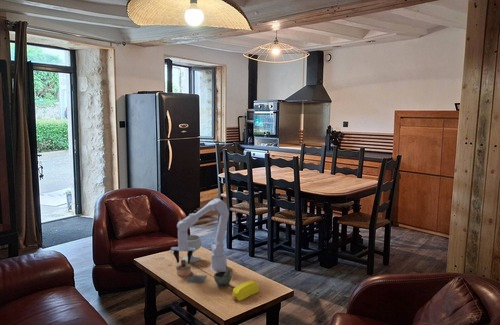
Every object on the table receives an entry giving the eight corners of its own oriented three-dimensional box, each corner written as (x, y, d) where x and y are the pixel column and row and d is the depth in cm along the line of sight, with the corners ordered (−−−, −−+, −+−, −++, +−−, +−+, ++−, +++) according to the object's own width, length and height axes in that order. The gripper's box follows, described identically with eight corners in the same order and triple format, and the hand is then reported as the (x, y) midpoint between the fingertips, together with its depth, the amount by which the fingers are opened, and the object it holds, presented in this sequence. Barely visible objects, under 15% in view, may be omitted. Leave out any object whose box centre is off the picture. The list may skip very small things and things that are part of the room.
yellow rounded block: (262, 292, 205) (252, 287, 211) (262, 280, 204) (252, 276, 210) (238, 304, 192) (228, 299, 198) (238, 291, 192) (228, 287, 197)
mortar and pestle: (210, 286, 212) (210, 266, 210) (222, 280, 219) (221, 261, 217) (225, 292, 205) (225, 271, 203) (237, 286, 212) (236, 265, 210)
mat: (207, 276, 225) (207, 275, 225) (203, 284, 215) (203, 283, 215) (190, 276, 226) (190, 275, 226) (186, 283, 216) (186, 282, 216)
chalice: (199, 263, 244) (199, 241, 242) (178, 263, 244) (177, 241, 242) (203, 255, 257) (202, 234, 256) (183, 255, 258) (182, 234, 256)
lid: (193, 266, 230) (193, 259, 229) (184, 271, 222) (184, 264, 222) (182, 263, 234) (182, 256, 233) (173, 268, 227) (173, 261, 226)
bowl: (192, 270, 233) (192, 264, 232) (188, 276, 225) (188, 270, 224) (179, 270, 234) (178, 264, 233) (175, 276, 225) (174, 269, 225)
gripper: (196, 239, 230) (196, 260, 231) (173, 238, 231) (173, 259, 233) (193, 243, 223) (194, 265, 224) (169, 242, 224) (170, 264, 226)
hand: (183, 262), depth 228 cm, fingers open, 6 cm apart
